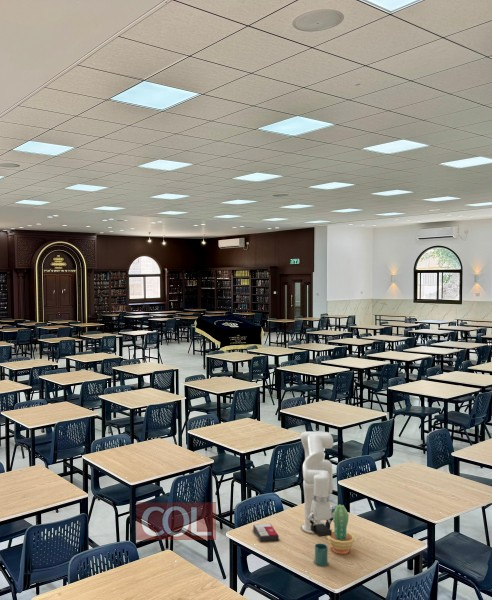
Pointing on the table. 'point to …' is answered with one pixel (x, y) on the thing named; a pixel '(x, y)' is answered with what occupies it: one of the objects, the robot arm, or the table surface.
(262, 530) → the calculator
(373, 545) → the table surface
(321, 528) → the black box
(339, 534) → the potted cactus
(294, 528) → the table surface
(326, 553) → the cup
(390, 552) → the table surface
